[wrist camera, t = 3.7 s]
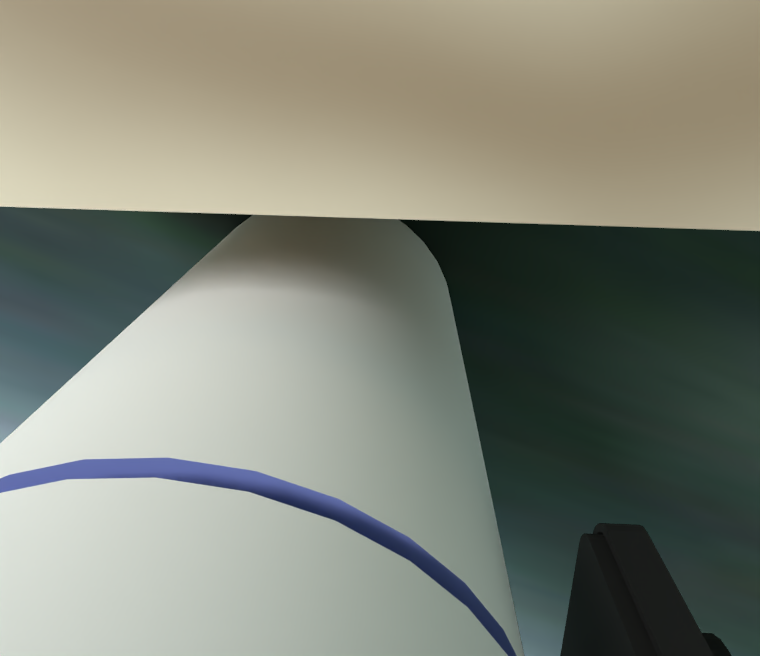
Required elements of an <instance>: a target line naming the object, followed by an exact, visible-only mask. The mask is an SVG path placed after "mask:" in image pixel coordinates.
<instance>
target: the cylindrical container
mask: <svg viewBox="0 0 760 656" xmlns="http://www.w3.org/2000/svg"><path fill="white" fill-rule="evenodd" d="M0 656H524V652H523V647H522V642H521V637H520V632H519V628H518V623H517V618H516V613H515V608H514V603H513V599H512V594H511V589H510V584H509V579H508V575H507V570H506V565H505V560H504V555H503V550H502V546H501V541H500V536H499V531H498V526H497V521H496V517H495V512H494V507H493V502H492V497H491V492H490V488H489V483H488V478H487V473H486V468H485V463H484V459H483V454H482V449H481V444H480V439H479V434H478V430H477V425H476V420H475V415H474V410H473V406H472V401H471V396H470V391H469V386H468V381H467V377H466V372H465V367H464V362H463V357H462V353H461V348H460V343H459V338H458V333H457V328H456V324H455V319H454V314H453V309H452V304H451V300H450V295H449V291H448V286H447V282H446V280H445V278H444V275H443V273H442V271H441V269H440V266H439V264H438V262H437V260H436V259H435V258H434V256H433V255H432V253H431V252H430V250H429V249H428V247H427V246H426V245H425V243H424V242H423V241H422V240H421V239H420V238H419V237H418V236H417V235H416V234H415V233H414V232H413V231H412V230H411V229H410V228H409V227H408V226H407V225H406V224H404V223H402V222H401V221H399V220H398V219H375V218H344V217H313V216H282V215H252V216H251V217H250V218H248V219H247V220H246V221H244V222H243V223H241V224H240V225H239V226H237V227H236V228H235V229H234V230H233V231H232V232H231V233H230V234H229V235H228V236H226V237H225V238H224V239H223V240H222V241H221V242H220V243H219V244H218V245H217V246H216V247H214V248H213V249H212V250H211V251H210V252H209V253H208V254H207V255H206V256H205V257H204V258H202V259H201V260H200V261H199V262H198V263H197V264H196V265H195V266H194V267H193V268H191V269H190V270H189V271H188V272H187V273H186V274H185V275H184V276H183V277H182V278H181V279H179V280H178V281H177V282H176V283H175V284H174V285H173V286H172V287H171V288H170V289H169V290H167V291H166V292H165V293H164V294H163V295H162V296H161V297H160V298H159V299H158V300H157V301H155V302H154V303H153V304H152V305H151V306H150V307H149V308H148V309H147V310H146V311H145V312H143V313H142V314H141V315H140V316H139V317H138V318H137V319H136V320H135V321H134V322H133V323H131V324H130V325H129V326H128V327H127V328H126V329H125V330H124V331H123V332H122V333H121V334H119V335H118V336H117V337H116V338H115V339H114V340H113V341H112V342H111V343H110V344H108V345H107V346H106V347H105V348H104V349H103V350H102V351H101V352H100V353H99V354H98V355H96V356H95V357H94V358H93V359H92V360H91V361H90V362H89V363H88V364H87V365H86V366H84V367H83V368H82V369H81V370H80V371H79V372H78V373H77V374H76V375H75V376H74V377H72V378H71V379H70V380H69V381H68V382H67V383H66V384H65V385H64V386H63V387H62V388H60V389H59V390H58V391H57V392H56V393H55V394H54V395H53V396H52V397H51V398H50V399H48V400H47V401H46V402H45V403H44V404H43V405H42V406H41V407H40V408H39V409H37V410H36V411H35V412H34V413H33V414H32V415H31V416H30V417H29V418H28V419H27V420H25V421H24V422H23V423H22V424H21V425H20V426H19V427H18V428H17V429H16V430H15V431H13V432H12V433H11V434H10V435H9V436H8V437H7V438H6V439H5V440H4V441H3V442H1V443H0Z"/></svg>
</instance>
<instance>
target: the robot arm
mask: <svg viewBox="0 0 760 656" xmlns="http://www.w3.org/2000/svg"><path fill="white" fill-rule="evenodd" d="M561 656H731V654H730V652H729V651H728V649H727V648H726V646H725V645H724V644H723V642H722V641H721V640H720V639H719V638H718V637H716V636H715V635H714V634H712V633H701V631H700V629H699V627H698V625H697V624H696V622H695V620H694V618H693V616H692V614H691V613H690V611H689V609H688V607H687V605H686V603H685V601H684V600H683V598H682V596H681V594H680V592H679V590H678V588H677V587H676V585H675V583H674V581H673V579H672V577H671V575H670V574H669V572H668V570H667V568H666V566H665V564H664V562H663V561H662V559H661V557H660V555H659V553H658V551H657V549H656V548H655V546H654V544H653V542H652V540H651V538H650V536H649V535H648V533H647V531H646V530H645V528H644V527H643V526H641V525H630V524H607V523H599V524H597V525H596V527H595V529H594V532H593V534H583V535H582V536H581V539H580V543H579V549H578V555H577V560H576V566H575V572H574V578H573V584H572V590H571V596H570V602H569V608H568V614H567V620H566V626H565V632H564V638H563V644H562V650H561Z"/></svg>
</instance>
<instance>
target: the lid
mask: <svg viewBox="0 0 760 656" xmlns="http://www.w3.org/2000/svg"><path fill="white" fill-rule="evenodd" d="M0 206H3V207H34V208H65V209H96V210H127V211H158V212H189V213H220V214H251V215H282V216H313V217H344V218H375V219H406V220H437V221H468V222H499V223H530V224H561V225H592V226H623V227H654V228H685V229H716V230H747V231H760V0H0Z"/></svg>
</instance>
